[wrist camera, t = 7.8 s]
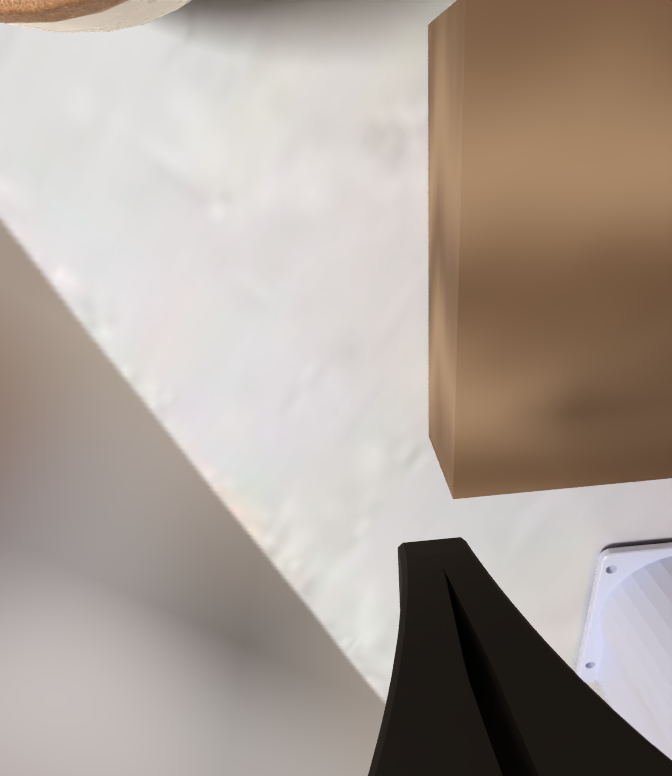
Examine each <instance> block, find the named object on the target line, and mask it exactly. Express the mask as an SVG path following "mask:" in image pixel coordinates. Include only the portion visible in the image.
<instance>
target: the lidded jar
mask: <svg viewBox="0 0 672 776" xmlns="http://www.w3.org/2000/svg"><path fill="white" fill-rule="evenodd" d="M189 1H191V0H0V22H1V23H5V24H9V25H14V26H20V27H26V28H32V29H38V30H44V31H50V32H110V31H114V30H119V29H124V28H129V27H133V26H138V25H143V24H145V23H148V22H150V21H152V20H154V19H157V18H159V17H161V16H164V15H166V14H168V13H171V12H173V11H175V10H177V9H179V8H181V7H182V6H184V5H185V4H187V3H188V2H189Z"/></svg>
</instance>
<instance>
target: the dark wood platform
mask: <svg viewBox="0 0 672 776" xmlns="http://www.w3.org/2000/svg"><path fill="white" fill-rule="evenodd" d="M428 110H429V438H430V440H431V443H432V446H433V448H434V451H435V453H436V456H437V459H438V461H439V464H440V466H441V469H442V472H443V474H444V477H445V479H446V482H447V484H448V487H449V490H450V492H451V495H452V497H453V499H459V498H469V497H480V496H490V495H500V494H511V493H521V492H532V491H542V490H552V489H563V488H573V487H584V486H594V485H605V484H615V483H625V482H636V481H646V480H657V479H667V478H672V0H457V1H456V2H455V3H453V4H452V5H451V6H450V7H449V8H448V9H446V10H445V11H444V12H443V13H442V14H440V15H439V16H438V17H437V18H436V19H435V20H433V21H432V22H431V23H430V24H429V25H428Z"/></svg>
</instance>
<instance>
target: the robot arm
mask: <svg viewBox="0 0 672 776" xmlns="http://www.w3.org/2000/svg"><path fill="white" fill-rule="evenodd" d="M398 565H399V592H400V620H399V631H398V639H397V646H396V652H395V658H394V664H393V671H392V677H391V682H390V687H389V692H388V697H387V702H386V707H385V711H384V716H383V720H382V724H381V728H380V732H379V737H378V740H377V744H376V748H375V752H374V755H373V759H372V763H371V767H370V771H369V774H368V776H672V542H670V543H659V544H649V545H639V546H628V547H618V548H609V549H606V550H604V551H602V552H601V553H600V555H599V558H598V563H597V568H596V573H595V578H594V583H593V588H592V593H591V598H590V603H589V608H588V613H587V618H586V623H585V628H584V633H583V638H582V643H581V648H580V653H579V658H578V663H577V668H576V673H575V672H574V671H573V670H572V669H571V668H570V667H569V666H568V665H567V664H566V663H565V661H564V660H563V659H562V658H561V657H560V656H559V655H558V654H557V653H556V652H555V651H554V650H553V649H552V648H551V647H550V646H549V644H548V643H547V642H546V641H545V640H544V639H543V638H542V637H541V636H540V635H539V633H538V632H537V631H536V630H535V629H534V628H533V627H532V626H531V624H530V623H529V622H528V621H527V620H526V619H525V617H524V616H523V615H522V614H521V613H520V611H519V610H518V609H517V608H516V607H515V606H514V604H513V603H512V602H511V601H510V600H509V598H508V597H507V596H506V595H505V594H504V592H503V591H502V590H501V589H500V587H499V586H498V585H497V583H496V582H495V581H494V580H493V578H492V577H491V576H490V574H489V573H488V572H487V570H486V569H485V568H484V566H483V565H482V564H481V562H480V561H479V560H478V558H477V557H476V555H475V554H474V553H473V551H472V550H471V548H470V547H469V545H468V544H467V542H466V541H465V540H464V539H462V538H461V537H459V538H448V539H438V540H427V541H417V542H407V543H402V544H401V545H400V546H399V547H398ZM595 681H597V682H598V683H599V685H600V687H601V689H602V691H603V693H604V695H605V697H606V699H607V701H608V703H609V705H610V706H609V705H608V704H607V703H606V702H605V701H604V700H603V699H602V698H601V697H600V696H599V695H598V694H597V693H595V692H594V691H593V690H592V689H591V688H590V687H589V686H588V685H587V684H586V683H585V682H595Z"/></svg>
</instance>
